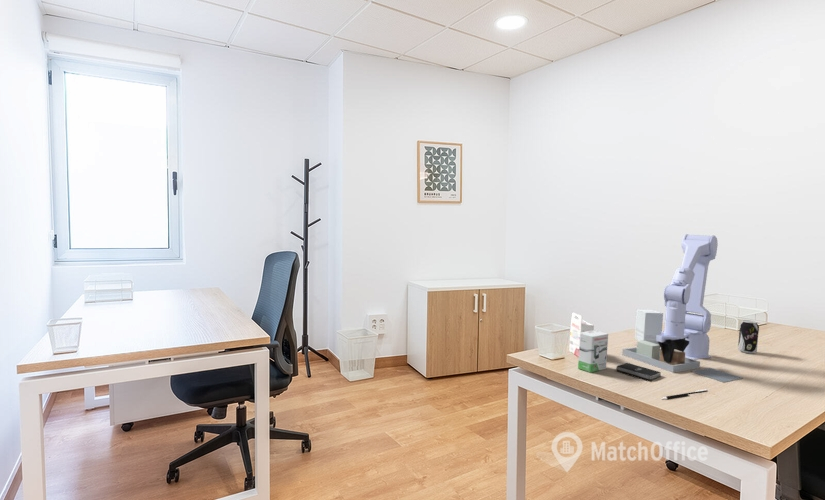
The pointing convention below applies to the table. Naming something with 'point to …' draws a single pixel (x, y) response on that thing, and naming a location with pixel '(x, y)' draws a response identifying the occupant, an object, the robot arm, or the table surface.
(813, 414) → the table surface
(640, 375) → the external hard drive
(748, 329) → the beverage can
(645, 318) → the supplement box
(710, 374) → the slate mat
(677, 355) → the labelled block
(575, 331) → the ink cartridge box
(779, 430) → the table surface
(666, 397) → the pen
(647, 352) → the sage block
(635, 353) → the grey bin
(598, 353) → the ink box
